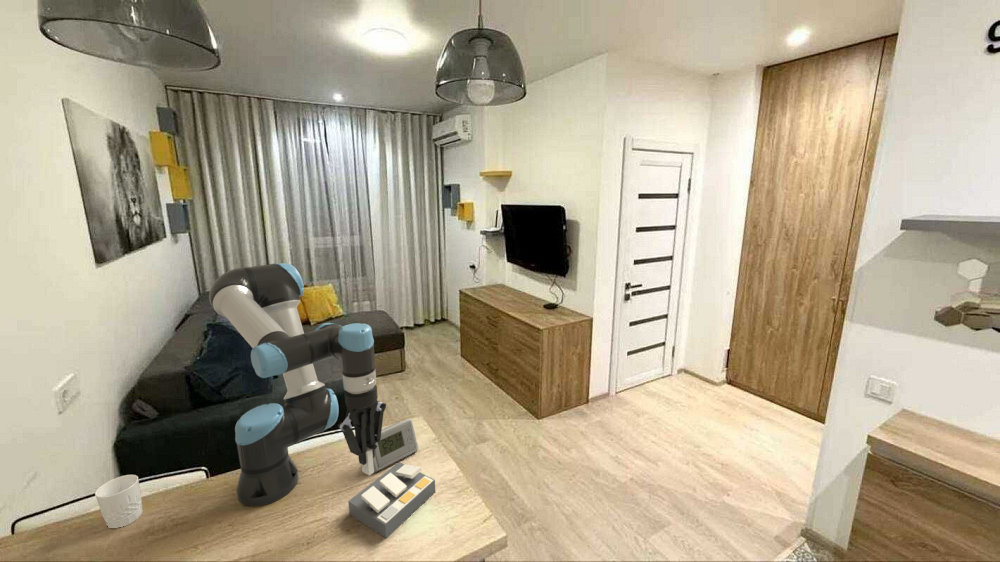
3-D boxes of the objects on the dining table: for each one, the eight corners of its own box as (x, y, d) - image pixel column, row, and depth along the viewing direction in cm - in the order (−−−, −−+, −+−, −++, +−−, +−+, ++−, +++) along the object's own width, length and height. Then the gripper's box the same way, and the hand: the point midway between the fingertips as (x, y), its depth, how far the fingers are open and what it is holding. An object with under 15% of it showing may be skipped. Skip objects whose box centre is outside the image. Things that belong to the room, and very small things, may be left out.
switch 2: (379, 485, 105) (379, 480, 104) (389, 476, 108) (390, 472, 107) (395, 499, 102) (396, 494, 101) (406, 490, 105) (406, 485, 105)
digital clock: (371, 475, 116) (369, 444, 114) (364, 459, 124) (361, 429, 121) (422, 456, 125) (421, 427, 122) (412, 442, 132) (411, 413, 130)
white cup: (144, 502, 106) (137, 470, 104) (146, 518, 100) (138, 485, 98) (104, 518, 101) (95, 485, 98) (103, 537, 95) (94, 502, 93)
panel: (349, 514, 102) (348, 499, 101) (400, 473, 117) (399, 460, 116) (386, 538, 95) (385, 522, 94) (435, 492, 110) (434, 478, 109)
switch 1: (360, 499, 100) (361, 494, 99) (372, 490, 103) (373, 485, 102) (377, 514, 97) (378, 510, 96) (389, 504, 100) (389, 500, 100)
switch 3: (396, 477, 110) (395, 471, 110) (406, 469, 113) (405, 464, 113) (412, 480, 106) (411, 475, 106) (422, 472, 110) (420, 467, 109)
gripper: (347, 403, 87) (356, 493, 92) (391, 380, 98) (397, 462, 103) (327, 394, 91) (336, 482, 96) (371, 373, 102) (378, 453, 106)
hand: (368, 471), depth 99 cm, fingers closed
